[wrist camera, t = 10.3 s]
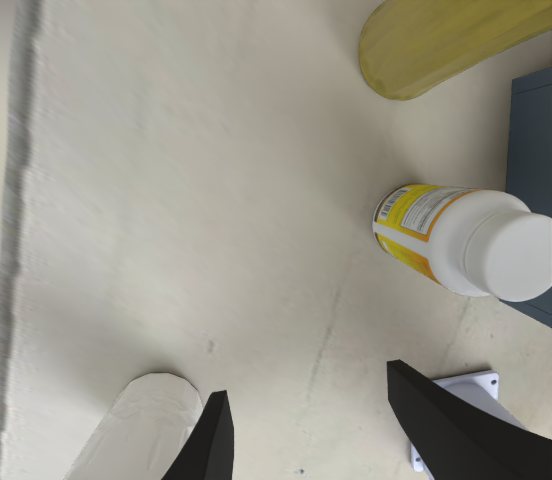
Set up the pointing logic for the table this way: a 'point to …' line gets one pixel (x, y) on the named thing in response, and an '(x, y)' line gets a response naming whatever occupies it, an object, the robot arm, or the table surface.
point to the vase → (441, 39)
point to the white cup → (140, 431)
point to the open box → (532, 164)
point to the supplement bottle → (468, 239)
